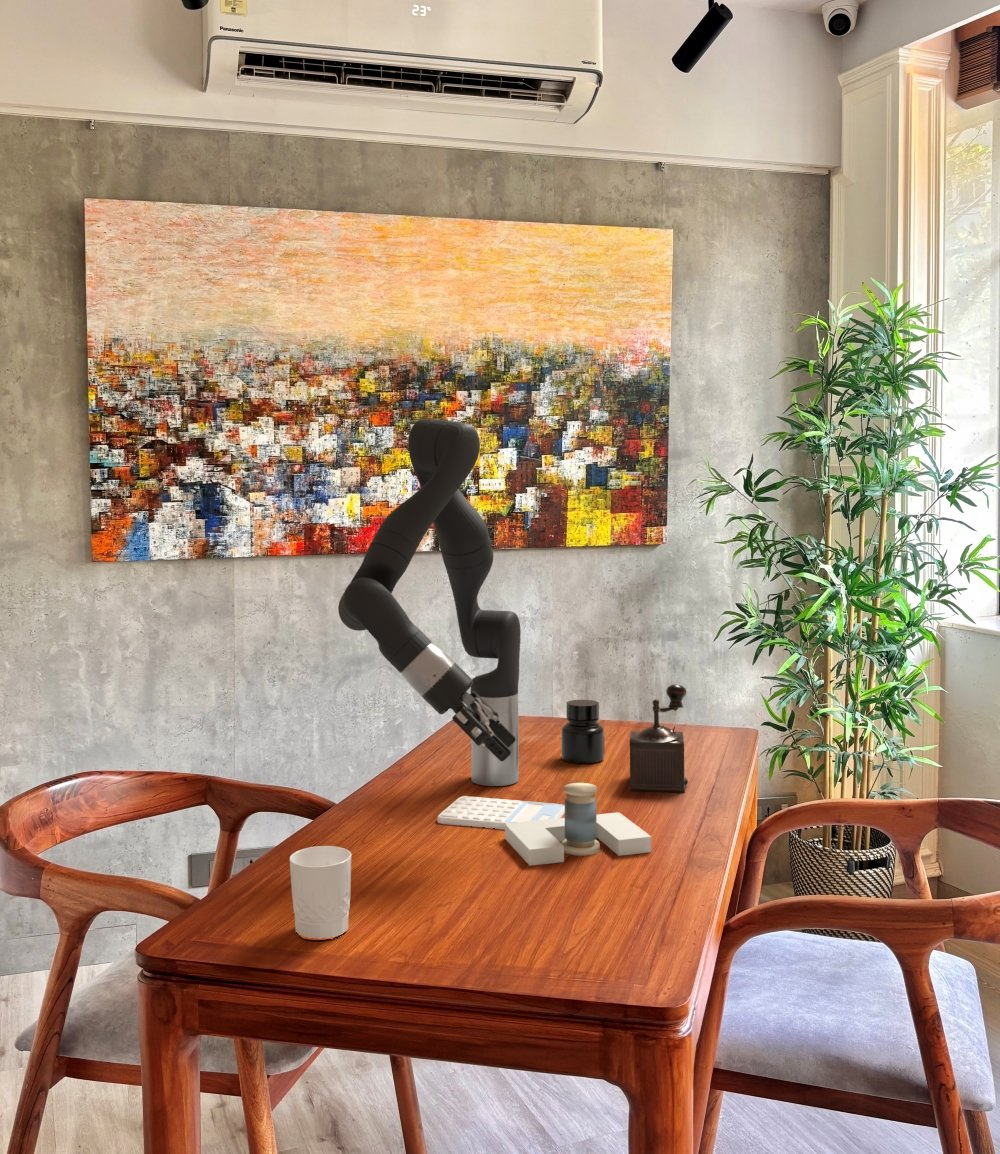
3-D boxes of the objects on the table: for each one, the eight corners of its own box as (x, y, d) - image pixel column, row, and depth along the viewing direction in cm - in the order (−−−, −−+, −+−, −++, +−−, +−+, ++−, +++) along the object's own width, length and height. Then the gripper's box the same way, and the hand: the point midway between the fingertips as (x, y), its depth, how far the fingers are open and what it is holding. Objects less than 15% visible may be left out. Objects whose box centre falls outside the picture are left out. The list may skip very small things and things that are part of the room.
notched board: (505, 838, 175) (504, 823, 175) (619, 826, 181) (619, 812, 181) (529, 865, 163) (529, 849, 163) (651, 852, 169) (651, 836, 168)
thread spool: (556, 845, 172) (555, 784, 171) (590, 841, 174) (590, 780, 173) (569, 857, 166) (569, 794, 166) (605, 853, 168) (605, 790, 167)
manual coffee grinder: (688, 793, 200) (689, 698, 199) (628, 791, 202) (629, 696, 200) (685, 771, 215) (686, 682, 214) (630, 769, 217) (630, 681, 215)
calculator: (460, 803, 197) (460, 793, 196) (567, 812, 191) (567, 802, 191) (435, 826, 184) (435, 815, 184) (548, 836, 178) (548, 825, 178)
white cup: (294, 919, 143) (293, 846, 143) (354, 917, 144) (352, 844, 143) (288, 945, 136) (286, 867, 135) (351, 942, 136) (349, 865, 135)
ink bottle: (613, 757, 227) (613, 701, 225) (593, 767, 219) (593, 709, 218) (572, 751, 232) (572, 696, 231) (552, 760, 224) (551, 704, 223)
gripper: (446, 669, 162) (523, 745, 162) (459, 654, 176) (529, 723, 176) (412, 703, 163) (488, 779, 163) (427, 685, 177) (497, 755, 177)
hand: (509, 750), depth 170 cm, fingers open, 8 cm apart
